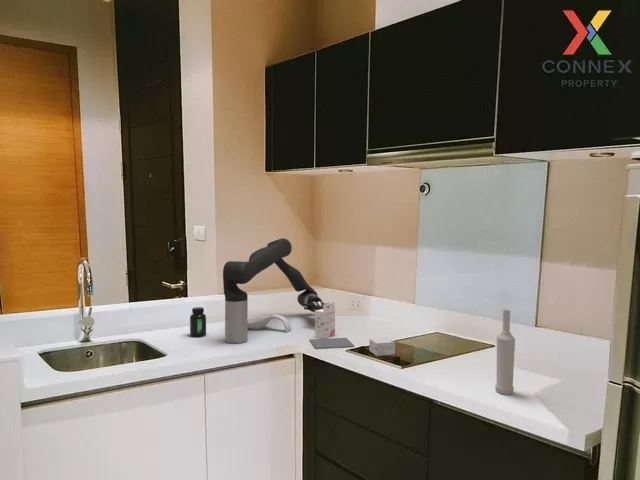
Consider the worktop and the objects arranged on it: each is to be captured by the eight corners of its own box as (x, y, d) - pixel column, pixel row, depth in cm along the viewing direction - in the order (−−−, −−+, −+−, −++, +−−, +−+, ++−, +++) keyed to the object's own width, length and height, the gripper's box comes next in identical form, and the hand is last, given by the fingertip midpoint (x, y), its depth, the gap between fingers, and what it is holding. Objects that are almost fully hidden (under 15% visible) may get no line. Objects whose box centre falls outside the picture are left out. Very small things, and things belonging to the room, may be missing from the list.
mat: (315, 349, 192) (315, 347, 192) (309, 340, 205) (309, 339, 205) (354, 347, 195) (354, 345, 195) (346, 338, 208) (346, 337, 208)
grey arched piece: (237, 330, 224) (237, 314, 223) (250, 324, 235) (250, 309, 234) (283, 335, 215) (283, 319, 215) (294, 329, 226) (294, 313, 226)
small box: (368, 351, 191) (368, 338, 190) (387, 349, 193) (387, 336, 192) (376, 356, 183) (376, 343, 183) (395, 355, 185) (395, 341, 185)
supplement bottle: (203, 337, 208) (202, 309, 208) (187, 337, 209) (187, 309, 208) (208, 333, 215) (208, 306, 215) (193, 333, 216) (193, 306, 215)
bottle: (510, 389, 149) (512, 308, 148) (516, 395, 144) (518, 311, 143) (493, 388, 150) (495, 308, 148) (498, 394, 145) (500, 311, 143)
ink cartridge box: (326, 333, 217) (326, 300, 217) (335, 335, 214) (335, 302, 214) (314, 337, 211) (314, 303, 210) (323, 339, 208) (323, 304, 207)
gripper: (300, 295, 236) (306, 301, 219) (326, 294, 238) (335, 301, 222) (299, 310, 236) (306, 318, 219) (326, 310, 239) (334, 317, 222)
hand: (320, 309), depth 220 cm, fingers closed
